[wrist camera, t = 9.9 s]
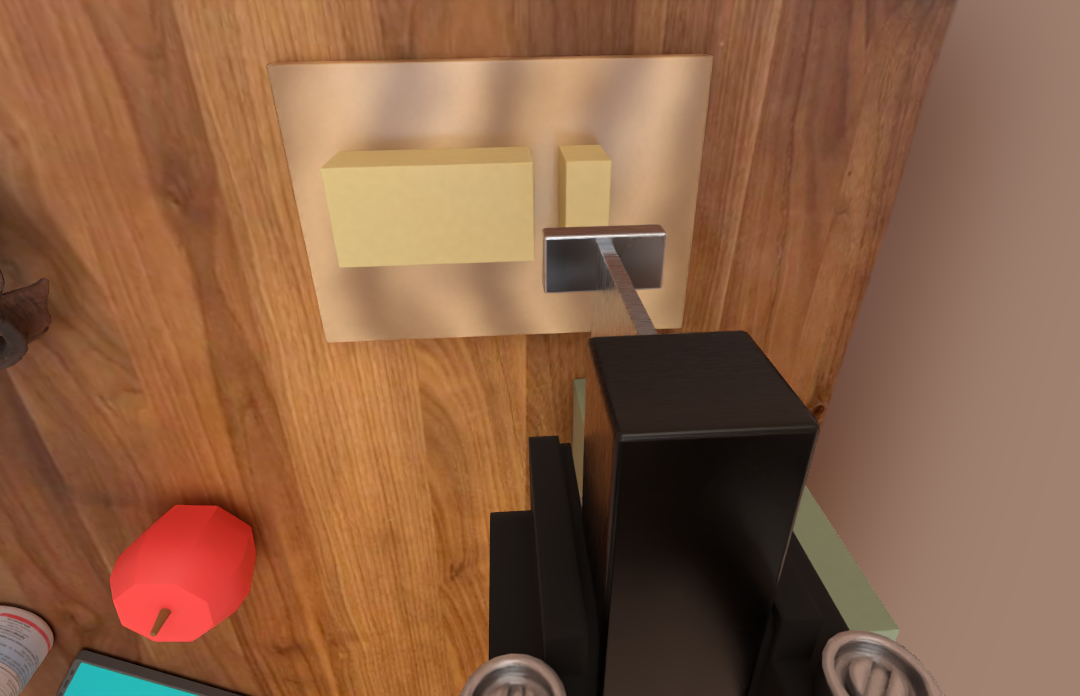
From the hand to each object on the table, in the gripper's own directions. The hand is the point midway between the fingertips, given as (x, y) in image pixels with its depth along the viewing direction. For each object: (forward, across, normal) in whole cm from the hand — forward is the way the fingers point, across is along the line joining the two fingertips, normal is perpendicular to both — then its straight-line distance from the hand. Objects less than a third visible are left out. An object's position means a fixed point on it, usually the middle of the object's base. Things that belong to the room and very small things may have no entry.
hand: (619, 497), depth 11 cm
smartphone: (+23, +32, +42) cm, 58 cm away
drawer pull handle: (+3, 0, 0) cm, 3 cm away
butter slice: (+21, -2, 0) cm, 21 cm away
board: (+23, +2, +1) cm, 23 cm away
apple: (+23, +23, +23) cm, 40 cm away
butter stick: (+21, +5, 0) cm, 22 cm away
